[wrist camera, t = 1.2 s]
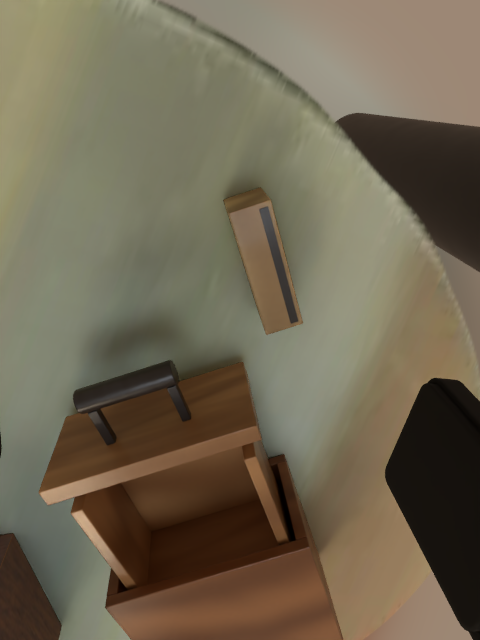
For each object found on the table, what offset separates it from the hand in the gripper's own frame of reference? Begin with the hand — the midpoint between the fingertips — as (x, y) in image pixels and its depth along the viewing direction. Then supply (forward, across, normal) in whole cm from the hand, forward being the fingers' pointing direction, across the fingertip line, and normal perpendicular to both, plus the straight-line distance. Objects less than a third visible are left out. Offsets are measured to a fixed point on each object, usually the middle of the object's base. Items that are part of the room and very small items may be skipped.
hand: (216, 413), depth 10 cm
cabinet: (+19, -7, +29) cm, 35 cm away
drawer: (+18, -1, +17) cm, 25 cm away
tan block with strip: (+19, -4, +2) cm, 20 cm away
